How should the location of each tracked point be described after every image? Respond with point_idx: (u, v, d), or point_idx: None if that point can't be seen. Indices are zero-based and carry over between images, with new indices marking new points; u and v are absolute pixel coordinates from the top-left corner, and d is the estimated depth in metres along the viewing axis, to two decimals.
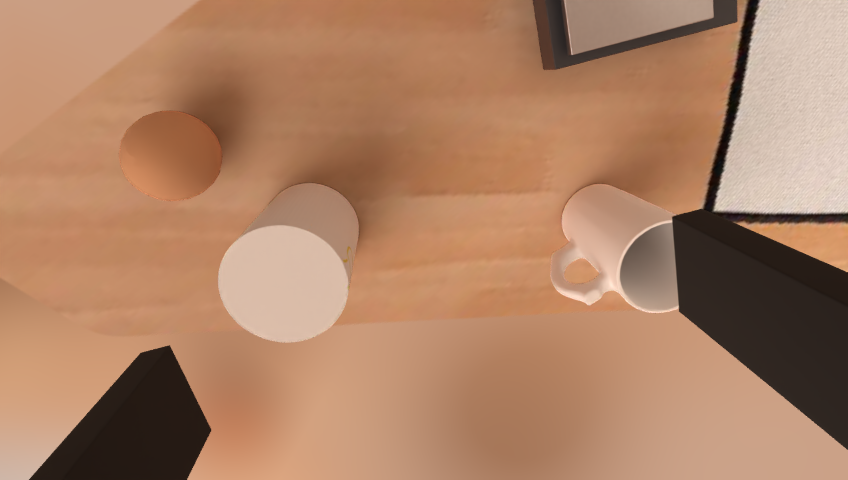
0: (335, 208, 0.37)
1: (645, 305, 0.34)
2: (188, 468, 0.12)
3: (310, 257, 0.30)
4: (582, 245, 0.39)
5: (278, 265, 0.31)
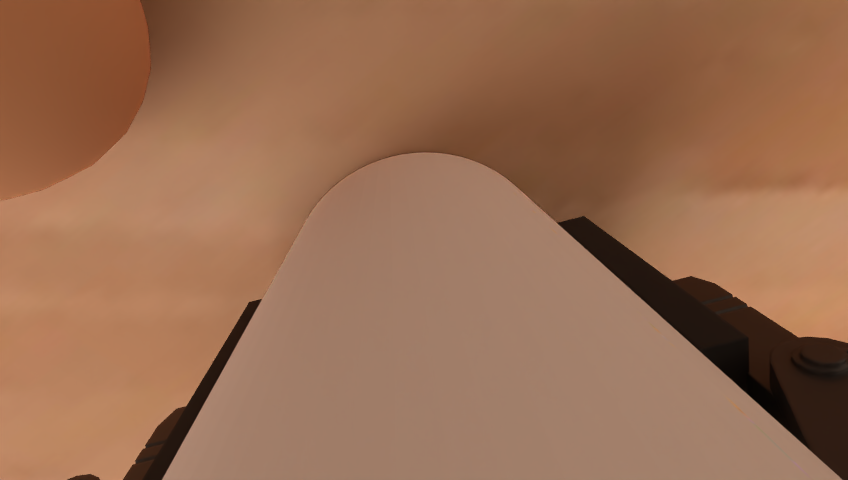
0: (571, 236, 0.10)
1: None
2: None
3: None
4: None
5: None
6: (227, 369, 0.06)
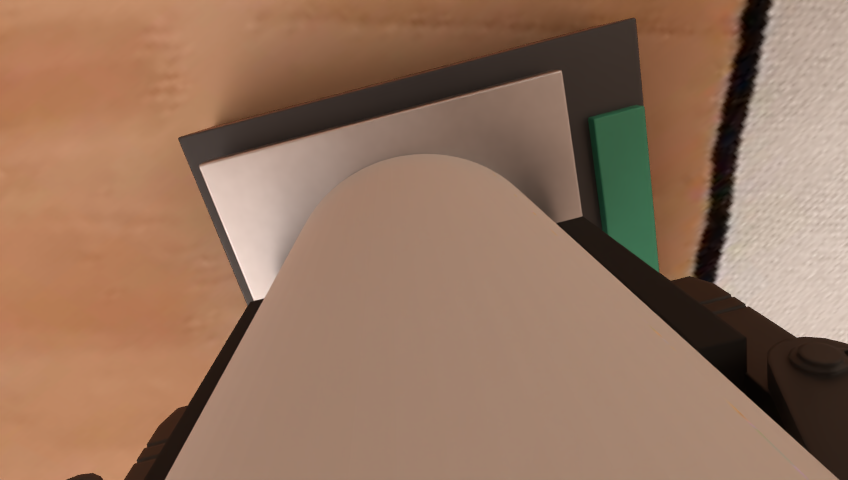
0: None
1: None
2: None
3: None
4: None
5: None
6: (228, 372, 0.06)
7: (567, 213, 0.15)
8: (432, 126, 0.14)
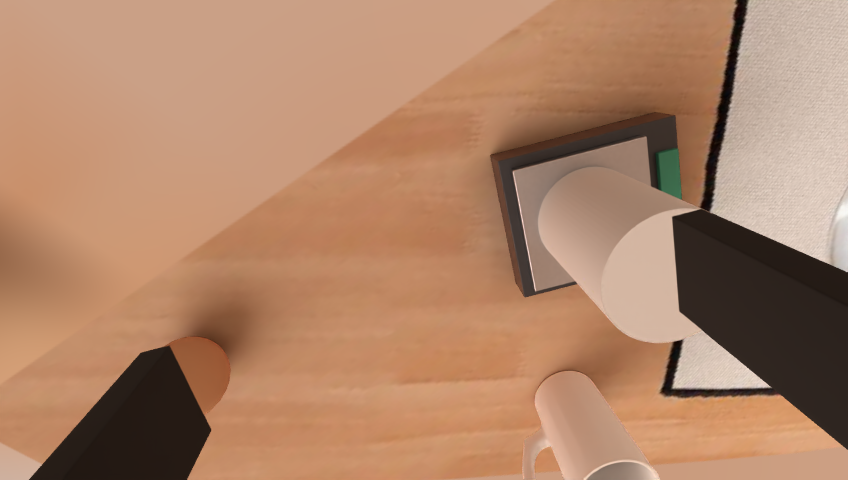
0: None
1: None
2: (188, 468, 0.12)
3: None
4: (550, 442, 0.43)
5: (673, 255, 0.27)
6: (596, 215, 0.29)
7: None
8: (598, 156, 0.37)
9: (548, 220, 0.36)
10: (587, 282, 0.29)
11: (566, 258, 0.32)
